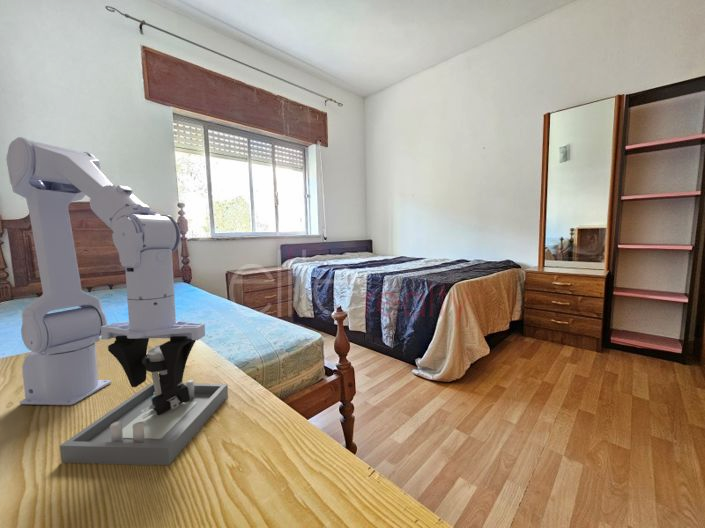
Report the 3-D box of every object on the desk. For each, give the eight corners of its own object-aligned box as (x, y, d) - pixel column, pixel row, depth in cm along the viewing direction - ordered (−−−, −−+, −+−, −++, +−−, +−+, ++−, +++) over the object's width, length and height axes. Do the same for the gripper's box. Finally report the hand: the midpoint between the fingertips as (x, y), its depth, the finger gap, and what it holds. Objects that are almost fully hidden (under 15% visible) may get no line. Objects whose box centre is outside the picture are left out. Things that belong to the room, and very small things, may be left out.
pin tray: (61, 462, 36) (58, 434, 36) (152, 394, 52) (151, 374, 52) (169, 465, 36) (167, 436, 36) (227, 396, 52) (227, 375, 52)
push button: (150, 427, 42) (137, 366, 40) (136, 413, 45) (124, 355, 43) (196, 402, 47) (187, 346, 45) (181, 390, 50) (172, 338, 48)
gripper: (77, 301, 39) (85, 397, 40) (183, 302, 38) (188, 399, 40) (121, 292, 46) (127, 374, 47) (210, 292, 45) (214, 375, 47)
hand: (157, 384), depth 44 cm, fingers closed on push button, 5 cm apart
